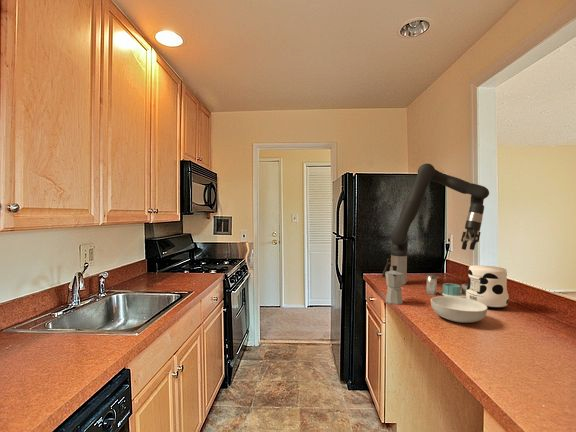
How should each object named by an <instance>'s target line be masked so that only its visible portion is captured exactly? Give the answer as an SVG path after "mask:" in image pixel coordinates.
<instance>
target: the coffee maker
mask: <svg viewBox="0 0 576 432" xmlns="http://www.w3.org/2000/svg"><path fill="white" fill-rule="evenodd" d="M392 267H393V270H392V271H390V270H389V271H388V270H387V271H386V272H385V275H386V277H385V284H386V286H387V288H386V289H387V290H386V295H385V303H386V304H388V305H397V306H398V305H403V304H404V302H403V295H402V287H403V285H402V284H403V277H404V273H402V272H399V271H397V266H392Z"/></svg>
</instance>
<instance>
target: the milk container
mask: <svg viewBox="0 0 576 432" xmlns="http://www.w3.org/2000/svg"><path fill="white" fill-rule="evenodd" d="M507 273H508V271H507V269H506V268H503V267H500V266H499V267H498V266H492V265H482V264H481V265H478V264H475V265H470V266H469V267H468V274H467V275H468V276H467V278H468V283H467V284H468V287H467V290H466V298H467V299H471V300H474V301H478V302H480V303H482V304H484V305H486V306H487V308H488V309H504V308H506V307H507V306H508V305H509V300H510V297H509V292H508V288H507V282H508V278H507V277H508V274H507Z"/></svg>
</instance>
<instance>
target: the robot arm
mask: <svg viewBox="0 0 576 432" xmlns="http://www.w3.org/2000/svg"><path fill="white" fill-rule="evenodd" d="M431 182H433V183H437V184H440V185H443V186H445V187H446V188H449V189H451V190H454V191H456V192H458V193H460V194H463V195H470V206H469V211H468V214H467V217H466V221H465V223H464V225H465V226H464V229H465V230H466V231H463V232H462V235H461V239H460V242H461V243H462V245H461V250H463V251H464V250H465V251H466V250H467V245H468V243H469V242H470V245H469V250H471V251H475V247H476V244H477V243H479V242H480V236H481V233H482V232H481V231H480V230H481V226H482V223H483V216H484V211H485V205H484V200H485V199H487V198H488V197H489V195H490V191H489V189H488V188H487V187H486V186H483V185H482V184H477V183H472V182H469V181H466V180H464V179H462V178H458V177H456V176H453V175H449V174H446V173H443V172H441V171H439V170H438V169H436V168H435V167H434V165H433V164H431V163H423V164H421V165H420V166H418V169H417V175H416V178H415V180H414V184H413V186H412V188H411V189H410V191H409V193H408V195H407V196H406V198H405V201H404V203H403V206H402V209H401V211H400V215H399V218H398V221H397V223H396V225H395V227H394V228H393V231H391V235H390V240H391V243H392V244H391V251H390V259H391V260H390V262H391V266H390V267H389V271H392V270H393V267H392V266H397V271H399V272H402V273H404V277H403V284H402V286H403V285H406V284H407V277H408V276H407V275H408V274H407V273H408V272H407V270H408V269H407V268H408V264H407V263H408V249H409V248H408V247H409V246H408V245H409V237H408V233H409V230H410V227H411V224H412V223H413V221H414V220H415V219H416V216H417V215H418V213H419V211H420V209H421V206H422V205H423V202H424V199H425V194H426V191H427V188H428V186H429V185H430V183H431Z"/></svg>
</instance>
